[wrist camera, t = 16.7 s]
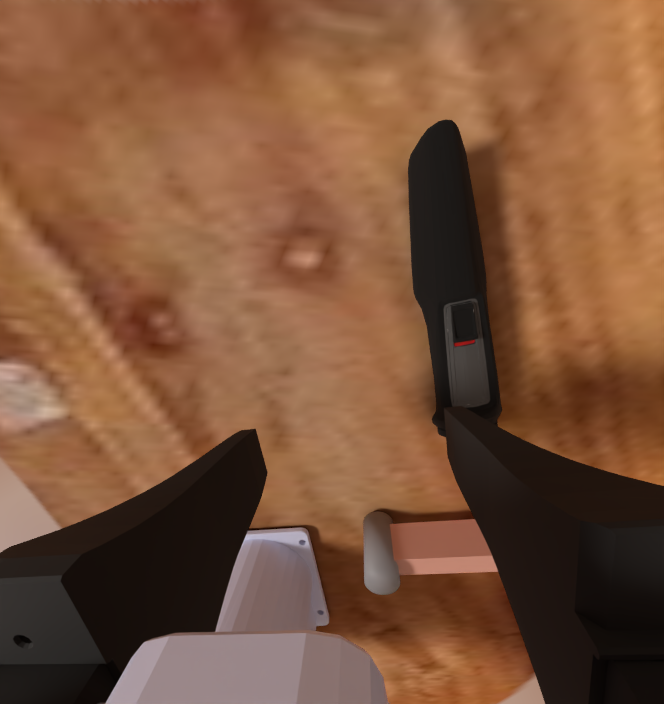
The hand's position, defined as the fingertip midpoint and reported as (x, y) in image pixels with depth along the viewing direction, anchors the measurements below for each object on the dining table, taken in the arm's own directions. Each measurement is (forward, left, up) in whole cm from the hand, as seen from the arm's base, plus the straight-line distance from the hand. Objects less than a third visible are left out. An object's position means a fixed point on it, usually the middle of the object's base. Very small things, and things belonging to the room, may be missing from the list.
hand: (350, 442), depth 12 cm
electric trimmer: (+3, -6, -8) cm, 10 cm away
